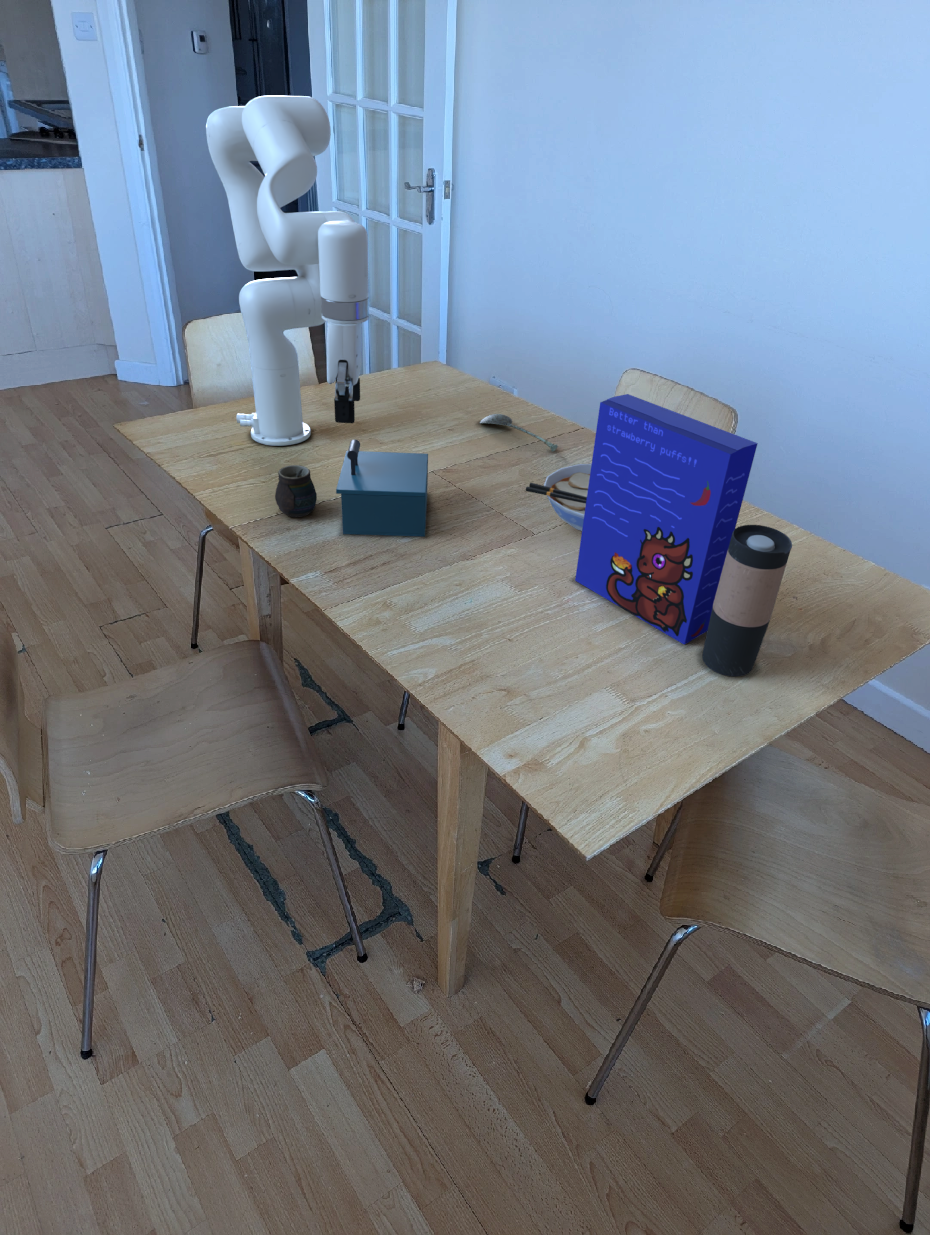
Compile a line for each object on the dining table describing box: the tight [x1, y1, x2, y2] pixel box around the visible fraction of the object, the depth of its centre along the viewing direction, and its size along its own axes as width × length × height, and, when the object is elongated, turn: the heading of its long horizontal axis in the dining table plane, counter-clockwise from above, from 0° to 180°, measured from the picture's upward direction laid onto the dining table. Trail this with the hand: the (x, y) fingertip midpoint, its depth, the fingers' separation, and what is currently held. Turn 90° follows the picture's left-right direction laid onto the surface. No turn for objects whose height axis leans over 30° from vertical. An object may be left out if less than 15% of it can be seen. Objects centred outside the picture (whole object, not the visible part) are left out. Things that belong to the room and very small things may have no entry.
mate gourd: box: [274, 464, 318, 518], centre depth 145 cm, size 7×8×10 cm
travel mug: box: [701, 524, 793, 678], centre depth 111 cm, size 8×8×20 cm
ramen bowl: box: [525, 463, 592, 532], centre depth 146 cm, size 25×23×8 cm
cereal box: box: [574, 393, 758, 645], centre depth 119 cm, size 22×6×30 cm, turn 40°
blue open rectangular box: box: [340, 465, 429, 538], centre depth 147 cm, size 14×16×8 cm
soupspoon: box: [479, 413, 559, 453], centre depth 181 cm, size 22×3×7 cm
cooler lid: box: [335, 439, 429, 497], centre depth 143 cm, size 15×16×5 cm
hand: (348, 411), depth 140 cm, fingers open, 9 cm apart
